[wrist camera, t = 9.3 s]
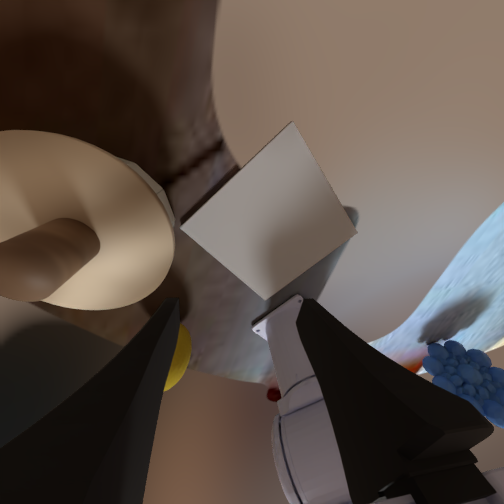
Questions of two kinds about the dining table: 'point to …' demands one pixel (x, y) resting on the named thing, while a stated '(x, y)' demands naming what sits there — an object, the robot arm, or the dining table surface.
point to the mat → (272, 216)
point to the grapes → (468, 377)
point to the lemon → (179, 358)
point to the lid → (77, 224)
